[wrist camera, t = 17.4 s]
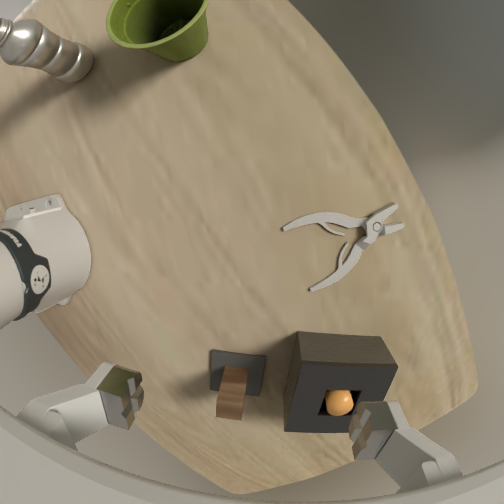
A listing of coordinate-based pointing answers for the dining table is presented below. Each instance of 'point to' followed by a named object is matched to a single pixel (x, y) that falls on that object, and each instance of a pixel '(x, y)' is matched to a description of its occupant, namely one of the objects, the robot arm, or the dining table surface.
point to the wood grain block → (232, 393)
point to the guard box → (334, 378)
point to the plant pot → (159, 26)
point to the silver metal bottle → (43, 50)
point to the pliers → (369, 224)
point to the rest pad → (237, 360)
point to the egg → (338, 402)
